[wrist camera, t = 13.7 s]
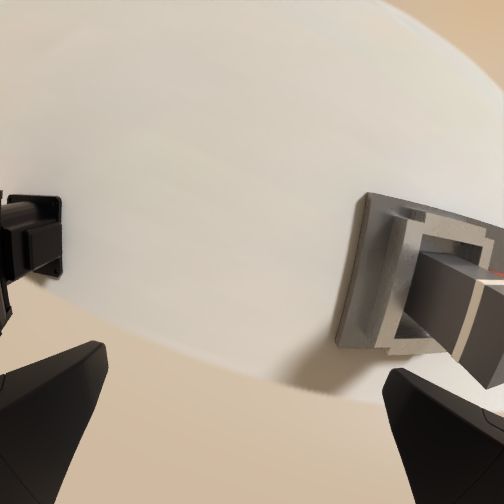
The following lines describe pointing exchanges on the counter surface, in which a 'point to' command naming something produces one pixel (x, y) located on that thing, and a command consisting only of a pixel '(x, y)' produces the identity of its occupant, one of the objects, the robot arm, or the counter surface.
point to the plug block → (461, 312)
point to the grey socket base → (405, 270)
